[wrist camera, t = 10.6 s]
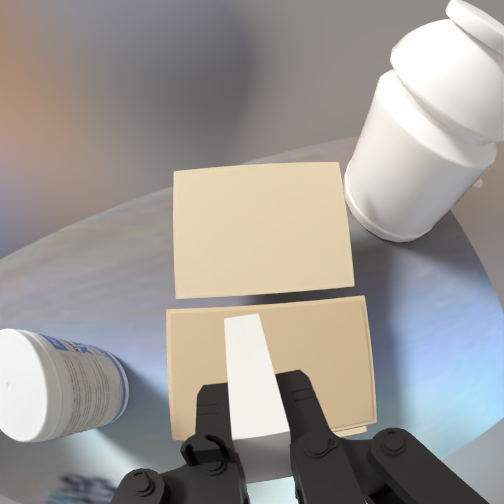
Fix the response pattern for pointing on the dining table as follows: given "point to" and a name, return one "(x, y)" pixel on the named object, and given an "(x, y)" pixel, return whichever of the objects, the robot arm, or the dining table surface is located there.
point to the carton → (279, 357)
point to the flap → (260, 230)
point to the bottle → (429, 125)
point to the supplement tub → (56, 386)
